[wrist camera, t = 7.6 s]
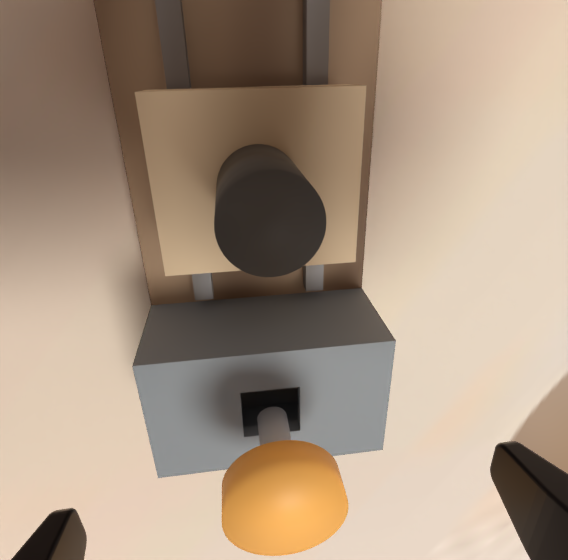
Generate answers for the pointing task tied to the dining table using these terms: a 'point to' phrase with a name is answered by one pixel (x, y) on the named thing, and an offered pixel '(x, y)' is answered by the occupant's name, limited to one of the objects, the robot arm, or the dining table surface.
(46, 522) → the robot arm
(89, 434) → the dining table surface
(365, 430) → the gray block
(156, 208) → the carriage
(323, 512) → the gauge button
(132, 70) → the rail track
